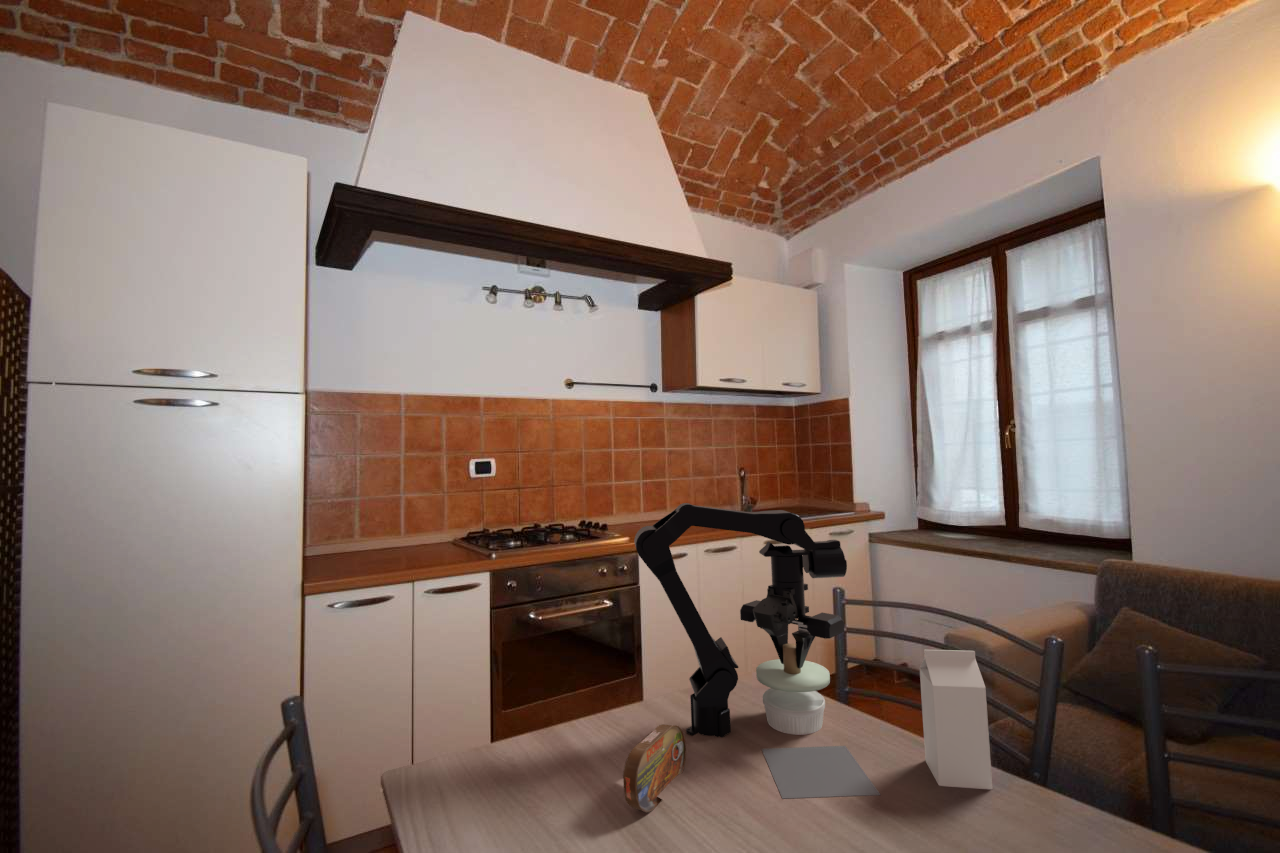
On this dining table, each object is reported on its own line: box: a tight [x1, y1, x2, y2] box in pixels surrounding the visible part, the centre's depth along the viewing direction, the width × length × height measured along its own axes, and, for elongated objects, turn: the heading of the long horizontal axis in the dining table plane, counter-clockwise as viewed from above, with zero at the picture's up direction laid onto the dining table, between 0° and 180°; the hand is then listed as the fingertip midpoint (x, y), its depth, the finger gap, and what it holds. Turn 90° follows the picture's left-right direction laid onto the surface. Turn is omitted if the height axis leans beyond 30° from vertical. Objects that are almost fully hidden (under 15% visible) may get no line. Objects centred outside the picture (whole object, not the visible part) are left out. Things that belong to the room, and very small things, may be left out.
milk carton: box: [919, 649, 993, 790], centre depth 87 cm, size 7×7×19 cm
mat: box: [761, 745, 881, 800], centre depth 89 cm, size 14×14×1 cm
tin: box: [622, 724, 687, 813], centre depth 86 cm, size 15×3×8 cm, turn 149°
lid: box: [755, 643, 831, 692], centre depth 105 cm, size 13×13×6 cm
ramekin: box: [762, 687, 826, 736], centre depth 105 cm, size 11×11×5 cm
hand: (791, 665), depth 105 cm, fingers closed on lid, 3 cm apart
